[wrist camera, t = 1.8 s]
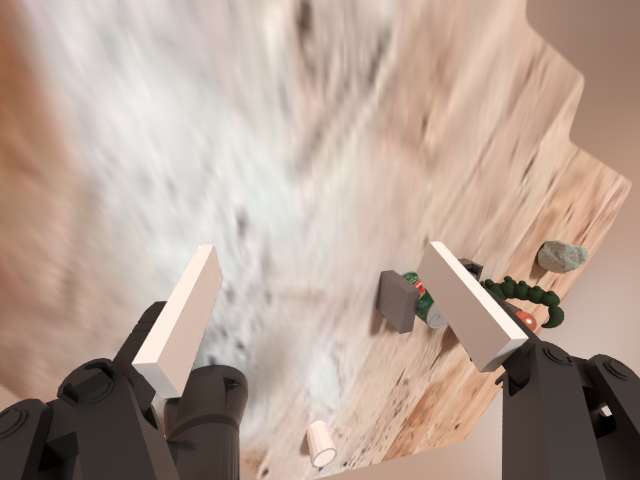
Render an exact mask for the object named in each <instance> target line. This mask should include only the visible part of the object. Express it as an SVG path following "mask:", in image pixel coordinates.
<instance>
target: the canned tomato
mask: <svg viewBox="0 0 640 480" xmlns="http://www.w3.org/2000/svg"><path fill="white" fill-rule="evenodd" d="M402 277H403V278H404V279H406V280H407V281H409V282H410V283H411V284H413V285H414V286H416V287H417V288H419V289H420V295H419V300H418V305H417V310H416V315H417V316H418V317H419V318H420V319H422V320H423V321H424V322H425V323H426V324H428V326H429V327H431V328H433V329H437V328H441V327H443V326H445V325H446V324H447V323H448V322H447V321H446V319H445V317H444V316H443V314H442V313H441V311H440V310H439V308H438V306H437V305H436V303H435V302H434V300H433V299H432V297H431V295H430V294H429V292H428V291H427V289H426V288H425V286H424V284H423V283H422V281H421V280H420V278H419V277H418V275H417V273H416V272H407V273H404V274H403V275H402Z"/></svg>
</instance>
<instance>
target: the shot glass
mask: <svg viewBox="0 0 640 480" xmlns="http://www.w3.org/2000/svg"><path fill="white" fill-rule="evenodd" d="M306 434H307V440H308V446H309V452H310V458H311V464H312V466H313V467H315V468H321V467H324V466H326V465H328V464H329V463H331V462H332V461H333V460H334V459H335V457H336V456H337V449H336V447H335V445H334V442H333V440H332V438H331V435H330V433H329V431H328V428H327V426H326V424H325V422H324V421H317V422H314V423H312V424H311V425H310V426H309V427H308V429H307V431H306Z"/></svg>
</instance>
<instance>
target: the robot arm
mask: <svg viewBox="0 0 640 480" xmlns="http://www.w3.org/2000/svg"><path fill="white" fill-rule="evenodd" d="M417 275H418V277H419V278H420V280H421V281H422V283H423V284H424V286H425V288H426V289H427V291H428V292H429V294H430V295H431V297H432V299H433V300H434V302H435V303H436V305H437V306H438V308H439V310H440V311H441V313H442V314H443V316H444V317H445V319H446V321H447V322H448V324H449V325H450V327H451V328H452V330H453V332H454V333H455V335H456V336H457V338H458V339H459V341H460V342H461V344H462V346H463V347H464V349H465V350H466V352H467V353H468V355H469V357H470V358H471V360H472V361H473V363H474V364H475V366H476V368H477V369H478V371H479V372H492V371H495V370H496V369H497V368H499V367H500V366H501V365H502V366H503V367H504V369H505V370H506V371H505V372H504V373H503V374H502V375H501V376H500V377H499V378H498V379H497V380H496V381H495V384H496V385H498V384H499V383H501V382H502V381H503V386H502V387H501V388H503V425H502V428H503V430H502V480H640V378H639V377H638V376H637V375H636V374H635V373H634V372H633V371H632V370H631V369H630V368H628V367H627V366H626V365H624V364H623V363H622V362H620V361H618V360H616V359H614V358H612V357H609V356H607V355H602V354H598V355H595V356H593V357H592V358H590V359H589V360H586V359H582V358H578V357H574V356H570V355H569V354H568V353H566V352H565V351H564V350H563V349H561V348H560V347H558V346H556V345H554V344H552V343H549V342H546V341H541V340H540V339H539V338H538V337H537V336H536V335H535V334H534V333H533V332H532V331H531V330H530V329H529V328H528V327H527V326H526V324H525V323H524V322H523V321H522V320H521V319H520V318H519V317H518V316H517V315H516V314H515V313H513V311H512V310H511V309H510V308H509V307H508V306H506V303H505V302H504V301H503V300H502V299H501V298H500V297H499V296H498V295H496V294H495V293H493V292H492V291H491V290H489V289H488V288H485V289H484V288H483V287H482V286H481V285H480V284H479V283H478V282H477V281H476V280H475V279H474V277H473V276H472V275H471V274H470V273H469V272H468V271H467V270H466V269H465V268H464V267H463V265H462V264H461V263H460V262H459V261H458V260H457V259H456V258H455V257H454V256H453V254H452V253H451V252H450V251H449V250H448V249H447V248H446V247H445V246H444V245H443V244H442V242H429V244H428V246H427V249H426V251H425V254H424V256H423V259H422V261H421V264H420V266H419V269H418V271H417ZM222 281H223V276H222V272H221V269H220V265H219V261H218V258H217V254H216V250H215V247H214V245H200V246H199V247H198V249H197V251H196V253H195V254H194V256H193V258H192V260H191V261H190V263H189V265H188V266H187V268H186V270H185V272H184V273H183V275H182V277H181V279H180V280H179V282H178V284H177V286H176V287H175V289H174V291H173V293H172V294H171V296H170V298H169V300H168V301H161V302H155V303H154V304H153V305H151V306H150V307H149V308H148V309H147V310H146V311H145V312H144V313H143V315H142V316H141V318H140V320H139V321H138V324H136V326H135V327H134V329H133V330H132V333H130V335H129V337H128V338H127V340H126V341H125V343H124V344H123V346H122V347H121V349H120V350H119V352H118V354H117V355H116V357H115V358H114V360H113V361H111V360H110V359H106V358H100V359H94V360H92V361H89V362H87V363H84V364H83V365H81V366H80V367H78V368H77V369H75V370H74V371H72V372H71V373H70V374H69V375H68V376H67V377H66V378H65V379H64V381H63V382H62V384H61V385H60V387H59V388H58V393H57V397H58V398H59V399H56V400H53V401H50V402H47V403H44V402H42V401H40V400H39V399H26V400H23V401H19V402H17V403H16V404H13V405H11V406H10V407H8V408H6V409H5V410H3V411H2V412H1V413H0V480H240V463H239V462H240V455H239V426H240V423H241V419H242V416H243V412H244V409H245V406H246V402H247V398H248V384H247V380H246V378H245V376H244V375H243V374H242V373H241V372H240V371H239V370H237V369H235V368H233V367H230V366H225V365H211V366H205V367H201V368H198V369H195V370H193V371H191V368H192V366H193V363H194V360H195V357H196V354H197V352H198V349H199V346H200V343H201V340H202V338H203V335H204V332H205V329H206V326H207V324H208V321H209V318H210V315H211V312H212V310H213V307H214V304H215V301H216V298H217V295H218V293H219V290H220V287H221V284H222ZM190 371H191V372H190ZM155 393H157V394H158V396H159V397H160V398H161V399H162V398H166V402H165V405H164V424H165V436H166V440H165V437H164V434H163V431H162V429H161V426H160V423H159V420H158V418H157V415H156V412H155V409H154V407H153V405H152V404H151V402H152V400H153V398H154V396H155ZM605 406H608V408H609V409H610V411H611V413H612V415H610V416H606V415H605V414H604V412H603V411H602V409H601V408H603V407H605Z"/></svg>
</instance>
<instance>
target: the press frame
mask: <svg viewBox="0 0 640 480" xmlns="http://www.w3.org/2000/svg"><path fill="white" fill-rule="evenodd" d="M457 260H458V261H459V262H460V263H461V264H462V265H463V267H464V268H465V269H466V270H467V271H469V272H471V273H473V274H475V275H477V277H476V281H477V282H479V279H480V275H481V272H482V269H483V266H481V265H479V264H477V263H474V262H472V261H470V260H468V259H465V258H464V259H457ZM419 295H420V289H419V288H417V287H416V286H414V285H413V284H411V283H410V282H409V281H407V280H406V279H404V278H403V277H402V276H400V275H399V274H397V273H396V272H395V271H393V270H390V271H383V272H382V273H381V280H380V288H379V295H378V303H377V309H378V311H379V312H380V313H381V314H382V315H383V316H384V317H385V318H386V319H387V320H388V321H389V322H390V323H391V324H392V326H393V327H394V328H395V329H396V330H397V331H398V332H399V333H400V334H403V333H407V332H411V331H412V330H413V325H414V320H415V315H416V310H417V305H418V300H419Z"/></svg>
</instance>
